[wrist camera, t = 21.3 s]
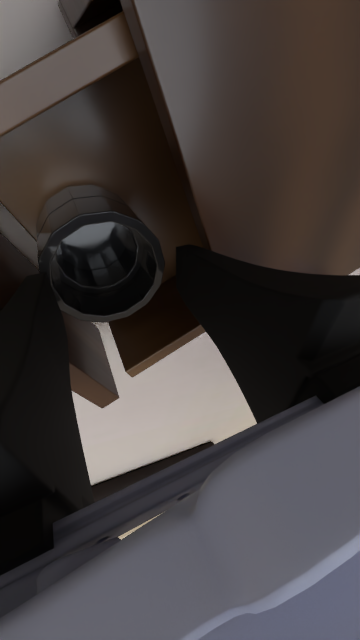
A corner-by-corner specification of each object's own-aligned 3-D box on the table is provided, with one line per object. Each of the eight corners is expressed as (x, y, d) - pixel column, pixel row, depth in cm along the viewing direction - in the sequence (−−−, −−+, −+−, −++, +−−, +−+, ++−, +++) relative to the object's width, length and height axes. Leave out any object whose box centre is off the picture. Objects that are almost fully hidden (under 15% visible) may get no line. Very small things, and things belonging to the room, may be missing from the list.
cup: (68, 289, 15) (79, 338, 12) (11, 202, 11) (5, 241, 8) (146, 257, 16) (174, 296, 13) (117, 166, 12) (146, 190, 9)
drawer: (29, 373, 19) (29, 455, 15) (-263, 208, 9) (-528, 313, 5) (214, 258, 19) (267, 304, 15) (129, -13, 10) (212, -100, 5)
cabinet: (182, 276, 20) (240, 344, 15) (56, 3, 10) (94, -119, 4) (312, 196, 21) (414, 233, 15) (328, -150, 10) (688, -442, 5)
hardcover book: (192, 476, 56) (196, 487, 55) (82, 524, 46) (84, 539, 44) (212, 440, 47) (218, 452, 45) (80, 489, 37) (83, 506, 35)
